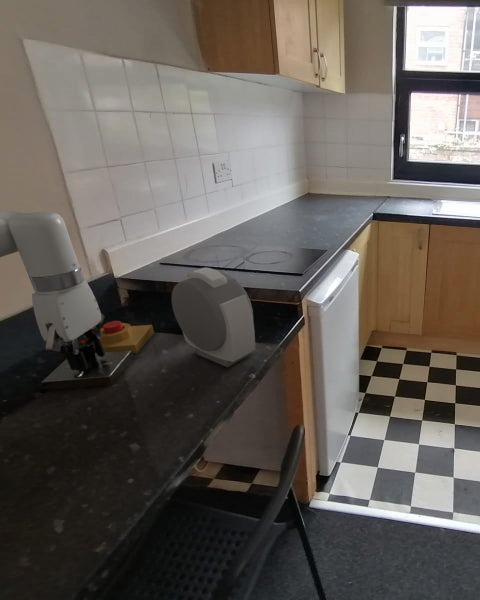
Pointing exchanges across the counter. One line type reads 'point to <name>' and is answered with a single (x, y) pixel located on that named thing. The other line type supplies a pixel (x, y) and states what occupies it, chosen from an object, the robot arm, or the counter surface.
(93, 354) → the dial
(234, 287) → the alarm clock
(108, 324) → the press knob
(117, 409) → the counter surface
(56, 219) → the robot arm
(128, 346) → the knob block
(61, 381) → the dial plate
